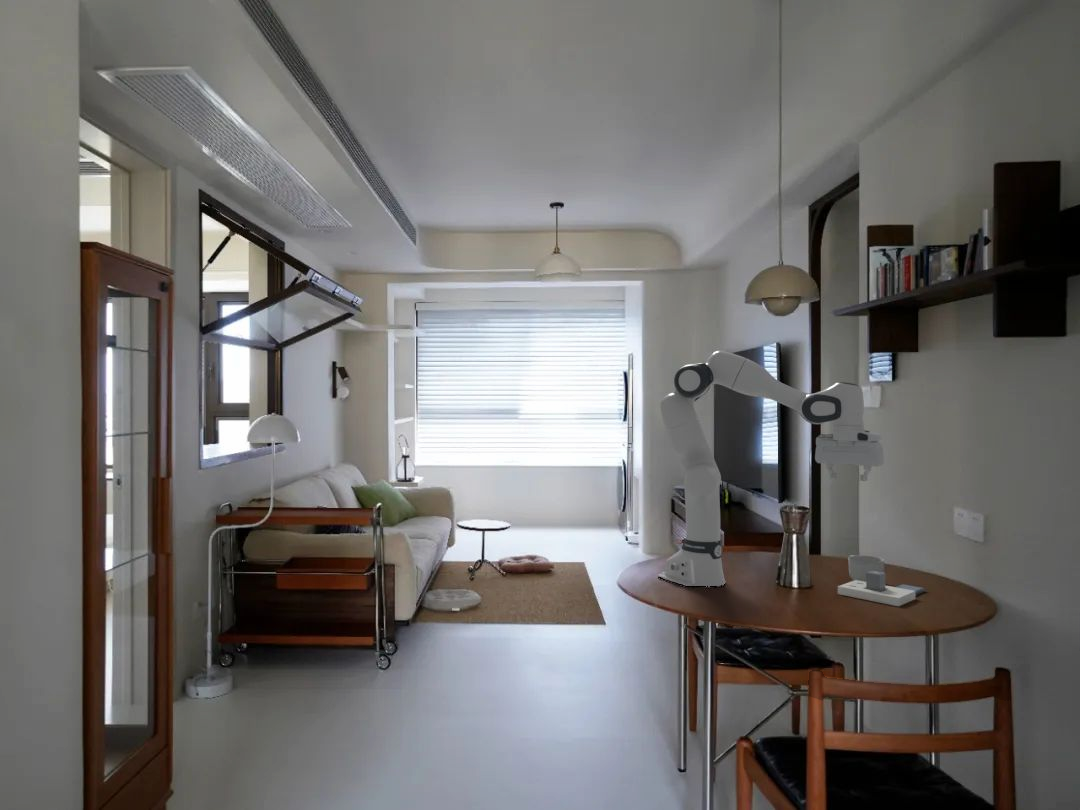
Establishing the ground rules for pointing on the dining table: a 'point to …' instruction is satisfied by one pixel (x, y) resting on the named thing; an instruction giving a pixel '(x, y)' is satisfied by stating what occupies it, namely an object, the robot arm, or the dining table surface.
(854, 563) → the grey rounded block
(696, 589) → the dining table surface
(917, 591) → the phone
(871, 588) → the block
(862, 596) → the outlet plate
